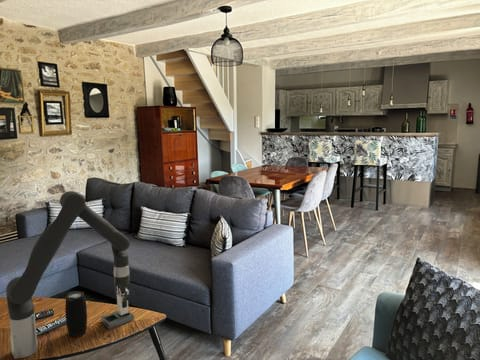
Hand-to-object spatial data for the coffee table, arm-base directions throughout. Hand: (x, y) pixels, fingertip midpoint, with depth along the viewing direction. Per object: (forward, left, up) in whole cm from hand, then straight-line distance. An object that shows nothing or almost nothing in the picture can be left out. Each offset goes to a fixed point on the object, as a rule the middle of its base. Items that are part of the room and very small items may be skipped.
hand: (122, 305), depth 186 cm
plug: (0, 0, -4) cm, 4 cm away
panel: (-3, 0, -7) cm, 8 cm away
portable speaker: (-22, +2, -7) cm, 23 cm away
